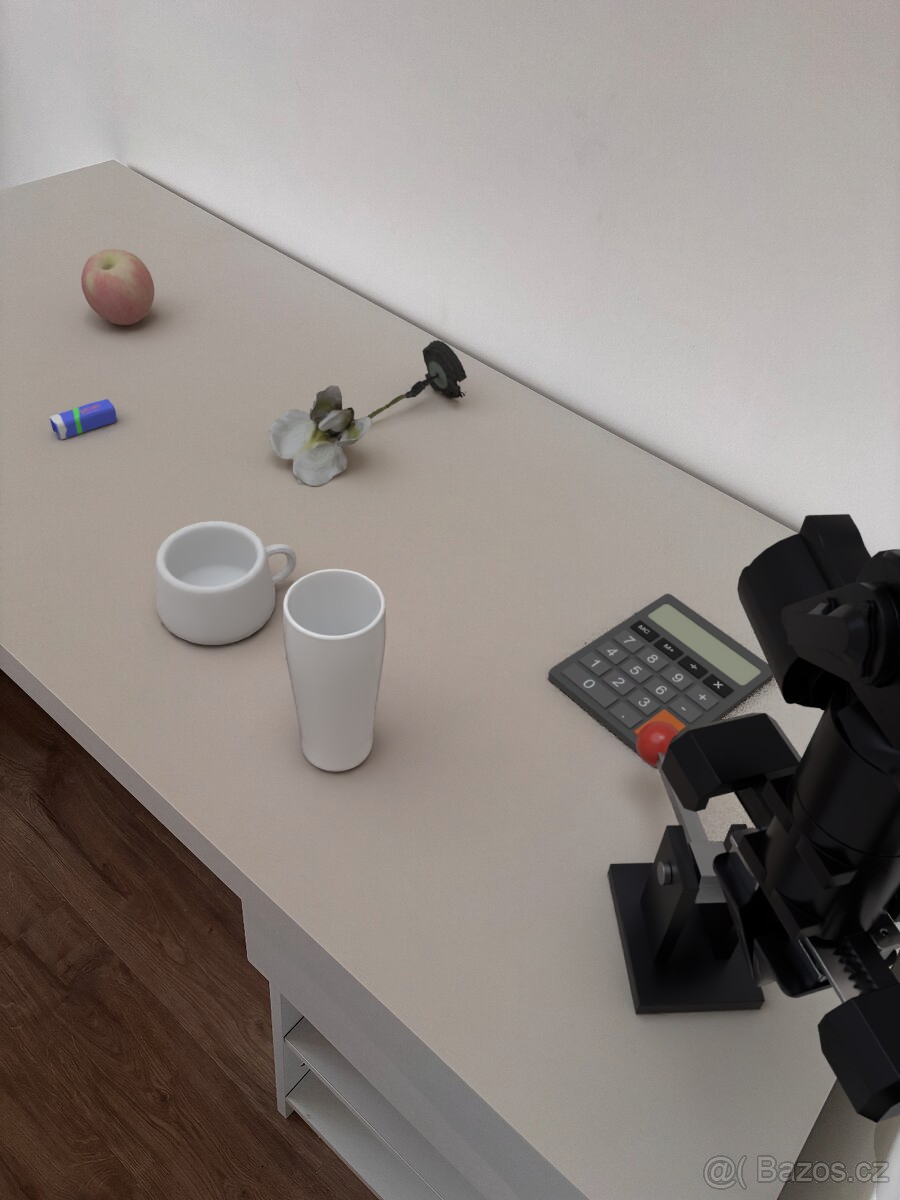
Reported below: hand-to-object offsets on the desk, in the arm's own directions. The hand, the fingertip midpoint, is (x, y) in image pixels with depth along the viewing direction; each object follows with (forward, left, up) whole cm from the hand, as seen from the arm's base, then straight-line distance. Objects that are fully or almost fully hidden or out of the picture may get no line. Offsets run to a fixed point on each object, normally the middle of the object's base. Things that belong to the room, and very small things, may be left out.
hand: (762, 978), depth 54 cm
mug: (+47, +20, -13) cm, 53 cm away
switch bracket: (+9, -3, -13) cm, 16 cm away
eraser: (+75, +30, -13) cm, 82 cm away
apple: (+96, +24, -13) cm, 100 cm away
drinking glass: (+30, +15, -13) cm, 36 cm away
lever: (+14, -4, -8) cm, 17 cm away
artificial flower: (+68, +2, -13) cm, 69 cm away
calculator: (+30, -12, -13) cm, 35 cm away
